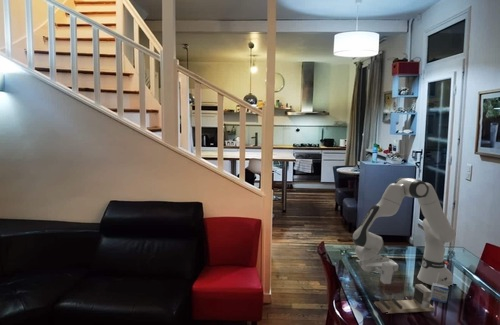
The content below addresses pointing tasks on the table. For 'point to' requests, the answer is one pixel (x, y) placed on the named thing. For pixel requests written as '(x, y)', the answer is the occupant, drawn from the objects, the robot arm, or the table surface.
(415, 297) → the rail
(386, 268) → the white tall block
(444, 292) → the medicine box
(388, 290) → the table surface
